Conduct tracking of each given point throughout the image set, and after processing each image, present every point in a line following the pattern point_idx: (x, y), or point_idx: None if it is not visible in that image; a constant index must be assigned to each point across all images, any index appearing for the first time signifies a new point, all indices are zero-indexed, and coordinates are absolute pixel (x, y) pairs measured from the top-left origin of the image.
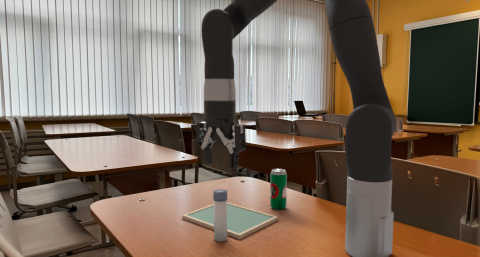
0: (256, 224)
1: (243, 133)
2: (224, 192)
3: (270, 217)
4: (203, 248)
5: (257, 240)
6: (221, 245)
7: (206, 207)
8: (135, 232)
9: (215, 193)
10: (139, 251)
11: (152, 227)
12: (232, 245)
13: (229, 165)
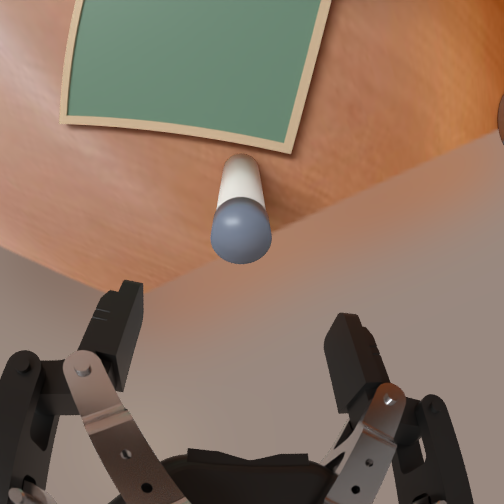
0: (298, 55)
1: (456, 491)
2: (266, 245)
3: None
4: None
5: (334, 136)
6: None
7: (74, 30)
8: (57, 242)
9: (235, 261)
10: None
11: (57, 206)
12: (288, 188)
13: (328, 358)
